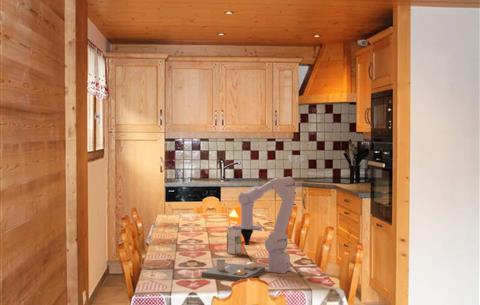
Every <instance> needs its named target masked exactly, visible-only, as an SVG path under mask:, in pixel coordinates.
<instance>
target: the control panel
mask: <svg viewBox="0 0 480 305" xmlns="http://www.w3.org/2000/svg"><path fill="white" fill-rule="evenodd" d="M236 270H245V275H244V276H242V275H236ZM265 270H266V267H264V266H256V265H255V270H247V269H246V264H239V263H230V262H229V263H228V262H225V270H217V265H215V266H213V267H210V268H207V269H206V270H204V271H202V272H201V277H202V278H210V279H217V280H225V281H234V282H238V281H237V280H240V279H246V278H250V277H255V278H256V277H257V276H260V275H261V274H264V273H265V272H266V271H265Z"/></svg>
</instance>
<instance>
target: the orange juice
mask: <svg viewBox="0 0 480 305" xmlns="http://www.w3.org/2000/svg"><path fill="white" fill-rule="evenodd" d="M233 225H241V205H240V206H236V207H235V206H234V207H233V208H232V210H231V211H230V213H229V215H228V226H233ZM242 242H245V241H244V238H243V236H242Z"/></svg>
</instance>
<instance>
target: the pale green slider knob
mask: <svg viewBox="0 0 480 305" xmlns="http://www.w3.org/2000/svg"><path fill="white" fill-rule="evenodd" d="M225 263H226V259H225V258H217V259H216V266H217V270H225Z"/></svg>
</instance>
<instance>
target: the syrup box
mask: <svg viewBox="0 0 480 305" xmlns="http://www.w3.org/2000/svg"><path fill="white" fill-rule="evenodd" d="M242 243H243V241H242V234H241V230H232V226H229V225H228V226H227V227H226V254H231V255H237V254H241V253H242Z"/></svg>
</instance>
